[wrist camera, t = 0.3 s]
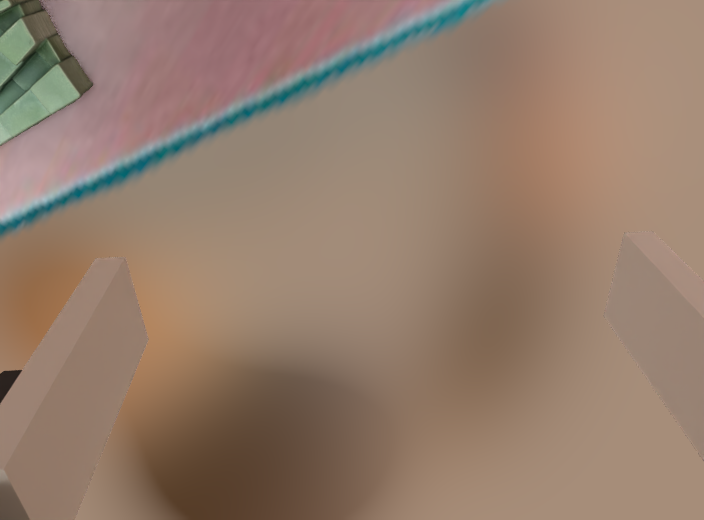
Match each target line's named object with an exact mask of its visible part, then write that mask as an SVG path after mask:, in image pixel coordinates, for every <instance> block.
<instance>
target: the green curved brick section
mask: <svg viewBox="0 0 704 520" xmlns="http://www.w3.org/2000/svg"><path fill="white" fill-rule="evenodd" d="M92 86H93V83H92V82H91V81H90V80H89V79H88V77H87V76H86V74H85V73H84V72H83V70H82V68H81V67H80V65H79V63H78V62H77V60H76V59H75V58H74V57H73V56H72V55H71V54H69V52H68V51H67V49H66V47H65V46H64V44H63V42H62V40H61V38H60V36H59V34H58V33H57V31H56V29H55V27H54V25H53V23H52V21H51V19H50V17H49V15H48V13H47V11H46V10H43V9H42V7H41V4H40V2H39V0H0V146H1V145H2V144H4V143H6V142H7V141H9V140H11V139H12V138H14V137H16V136H17V135H19V134H21V133H22V132H24V131H26V130H27V129H29V128H30V127H32V126H34V125H36V124H38V123H39V122H41V121H42V120H44V119H46V118H47V117H49V116H50V115H52V114H54V113H55V112H57V111H59V110H61V109H63V108H65V107H66V106H67V105H70V104H72V103H74V102H75V101H76V100H77V99H79V98H80V97H81V96H82V94H83V93H85V92H86V91H87V90H89V89H90V88H91V87H92Z"/></svg>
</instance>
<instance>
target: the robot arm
mask: <svg viewBox="0 0 704 520" xmlns="http://www.w3.org/2000/svg"><path fill="white" fill-rule="evenodd" d="M604 318H605V319H606V320H607V322H608V323H609V325H610V326H611V328H612V329H613V331H614V332H615V334H616V335H617V336H618V338H619V339H620V341H621V342H622V344H623V345H624V347H625V348H626V349H627V351H628V352H629V354H630V355H631V357H632V358H633V359H634V361H635V362H636V364H637V365H638V367H639V368H640V370H641V371H642V373H643V374H644V375H645V377H646V378H647V380H648V381H649V383H650V384H651V386H652V387H653V388H654V390H655V391H656V393H657V394H658V396H659V397H660V399H661V400H662V401H663V403H664V404H665V406H666V407H667V409H668V410H669V412H670V413H671V414H672V416H673V417H674V419H675V420H676V422H677V423H678V425H679V426H680V428H681V429H682V430H683V432H684V433H685V435H686V436H687V438H688V439H689V440H690V442H691V444H692V445H693V446H694V448H695V449H696V451H697V452H698V454H699V455H700V457H701V458H702V459H703V461H704V281H703V280H702V279H701V278H700V277H699V276H698V275H697V274H696V273H695V272H694V271H693V270H692V269H691V268H690V267H689V266H688V265H687V264H686V263H684V261H683V260H682V259H681V258H680V257H679V256H677V255H676V254H675V253H674V252H673V251H672V250H671V249H670V248H669V247H668V246H667V245H666V244H665V243H664V242H663V241H662V240H661V239H660V238H659V237H658V236H657V235H656V234H655V233H654V232H653V231H649V232H629V233H624V235H623V239H622V244H621V248H620V251H619V255H618V259H617V264H616V267H615V272H614V275H613V280H612V283H611V288H610V292H609V296H608V300H607V304H606V308H605V312H604ZM147 342H148V336H147V332H146V329H145V325H144V322H143V318H142V314H141V311H140V307H139V304H138V300H137V297H136V293H135V289H134V286H133V282H132V279H131V275H130V271H129V268H128V264H127V261H126V258H125V257H115V258H96V259H95V260H94V262H93V264H92V265H91V267H90V268H89V270H88V271H87V273H86V274H85V276H84V277H83V279H82V280H81V282H80V283H79V285H78V286H77V288H76V290H75V291H74V293H73V294H72V295H71V297H70V299H69V300H68V302H67V303H66V305H65V306H64V308H63V309H62V311H61V312H60V314H59V315H58V317H57V318H56V320H55V321H54V323H53V325H52V326H51V327H50V329H49V330H48V332H47V334H46V335H45V337H44V338H43V340H42V341H41V343H40V344H39V346H38V347H37V349H36V350H35V352H34V353H33V355H32V356H31V358H30V359H29V361H28V363H27V364H26V365H25V367H24V369H23V370H15V371H3V372H2V373H1V374H0V520H75V518H76V515H77V513H78V510H79V508H80V505H81V503H82V501H83V498H84V496H85V493H86V491H87V488H88V485H89V484H90V481H91V478H92V476H93V474H94V471H95V469H96V466H97V464H98V462H99V459H100V457H101V454H102V452H103V449H104V447H105V444H106V442H107V440H108V437H109V435H110V432H111V430H112V427H113V425H114V423H115V420H116V418H117V415H118V413H119V410H120V408H121V405H122V403H123V401H124V398H125V396H126V393H127V391H128V388H129V386H130V384H131V381H132V379H133V376H134V374H135V371H136V369H137V366H138V364H139V362H140V359H141V357H142V354H143V352H144V349H145V347H146V344H147Z"/></svg>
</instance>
